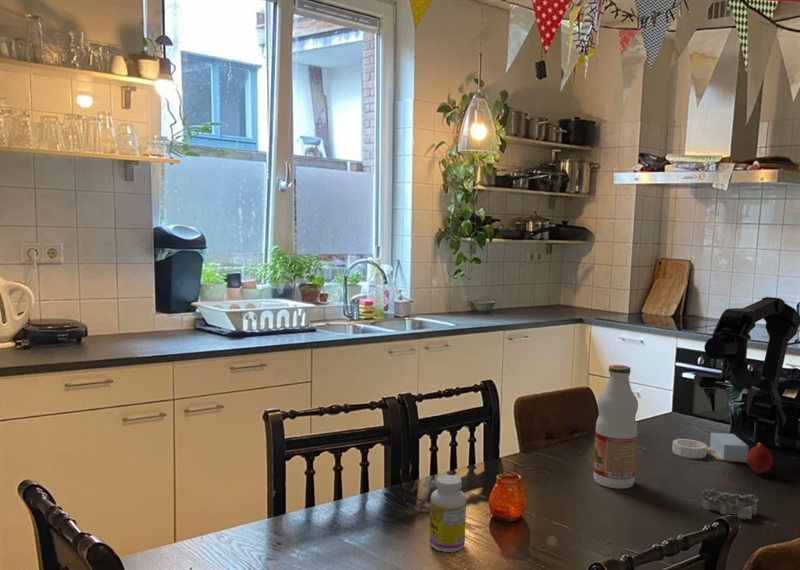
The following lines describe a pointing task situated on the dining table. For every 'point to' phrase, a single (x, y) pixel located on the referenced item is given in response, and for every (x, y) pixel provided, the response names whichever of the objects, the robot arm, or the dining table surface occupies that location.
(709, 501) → the egg carton
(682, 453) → the bowl
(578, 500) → the dining table surface
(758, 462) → the onion
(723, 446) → the light blue block
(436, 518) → the supplement bottle
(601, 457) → the fruit juice
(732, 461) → the mat
